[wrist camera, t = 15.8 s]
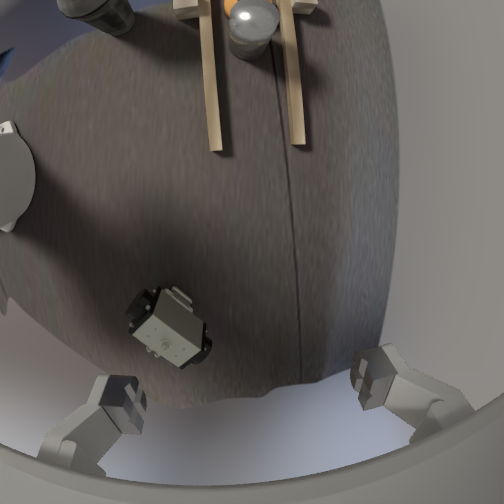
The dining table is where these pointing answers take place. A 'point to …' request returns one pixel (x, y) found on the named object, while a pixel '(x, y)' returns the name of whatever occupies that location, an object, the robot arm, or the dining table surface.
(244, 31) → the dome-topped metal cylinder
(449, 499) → the robot arm
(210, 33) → the guide track
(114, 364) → the dining table surface
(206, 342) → the pneumatic valve
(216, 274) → the dining table surface
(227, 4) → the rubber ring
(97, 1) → the beverage cup
